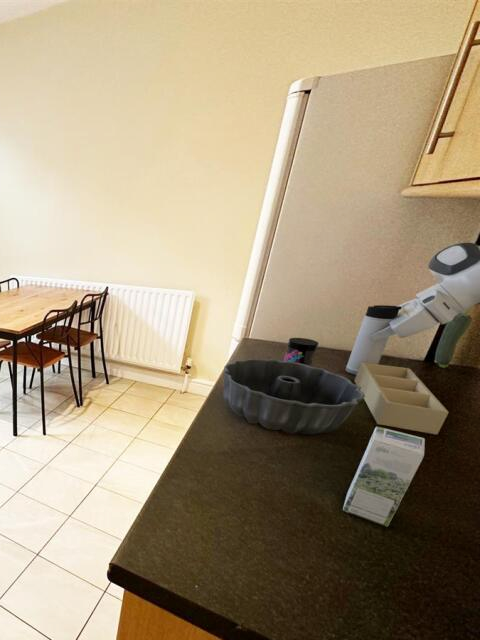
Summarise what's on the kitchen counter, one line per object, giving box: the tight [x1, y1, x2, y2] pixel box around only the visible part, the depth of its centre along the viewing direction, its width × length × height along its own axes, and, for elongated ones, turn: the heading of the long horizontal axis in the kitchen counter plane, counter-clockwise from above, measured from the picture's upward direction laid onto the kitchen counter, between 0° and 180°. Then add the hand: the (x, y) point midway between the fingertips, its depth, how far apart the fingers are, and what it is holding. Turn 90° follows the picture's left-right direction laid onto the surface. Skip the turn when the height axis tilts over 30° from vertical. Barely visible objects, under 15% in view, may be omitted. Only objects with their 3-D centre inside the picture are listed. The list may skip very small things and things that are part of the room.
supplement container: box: [282, 337, 319, 367], centre depth 119 cm, size 7×7×10 cm
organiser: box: [354, 363, 449, 435], centre depth 102 cm, size 10×28×6 cm, turn 148°
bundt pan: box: [222, 358, 365, 436], centre depth 97 cm, size 26×26×10 cm
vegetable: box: [434, 304, 479, 369], centre depth 120 cm, size 4×4×20 cm
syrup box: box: [342, 426, 426, 528], centre depth 66 cm, size 6×6×14 cm
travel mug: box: [345, 304, 402, 376], centre depth 116 cm, size 6×7×20 cm
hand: (371, 334), depth 116 cm, fingers closed on travel mug, 6 cm apart
